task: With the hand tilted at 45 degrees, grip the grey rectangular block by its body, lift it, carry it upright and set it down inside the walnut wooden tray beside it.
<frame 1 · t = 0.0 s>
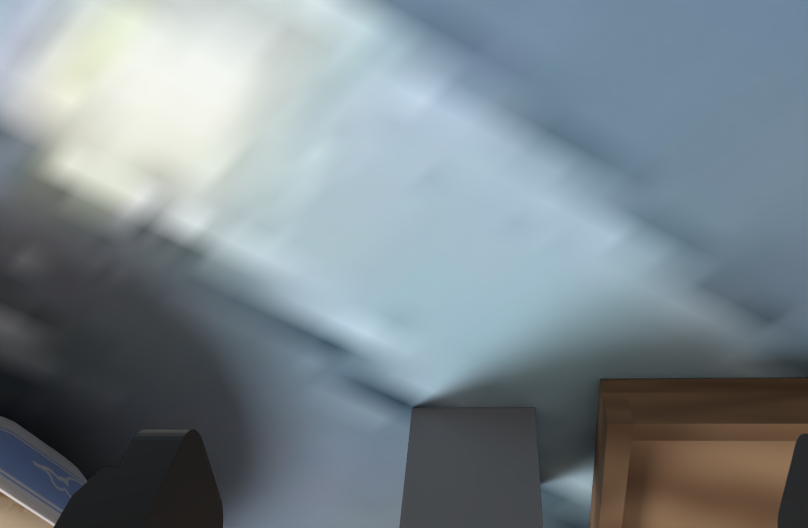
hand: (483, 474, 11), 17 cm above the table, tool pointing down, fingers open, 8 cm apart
grey rectangular block: (475, 448, 36), on the table
tray: (736, 479, 36), on the table
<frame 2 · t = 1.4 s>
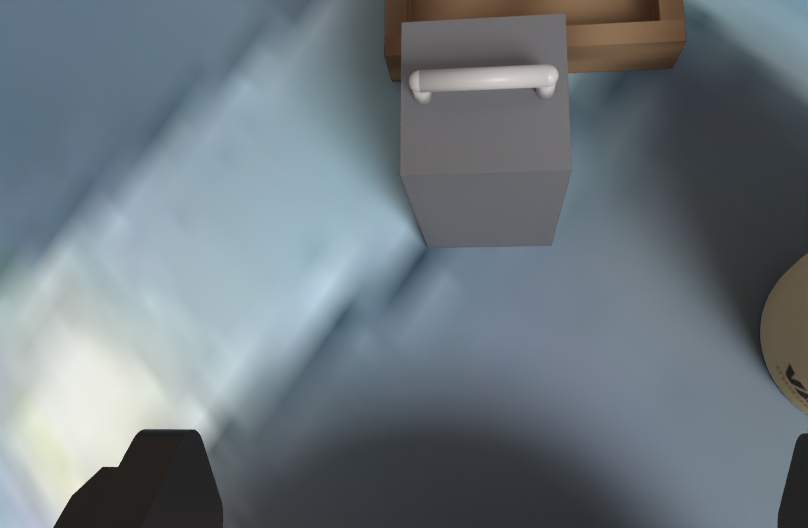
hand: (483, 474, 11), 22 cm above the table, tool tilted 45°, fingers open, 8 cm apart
grey rectangular block: (488, 188, 35), on the table
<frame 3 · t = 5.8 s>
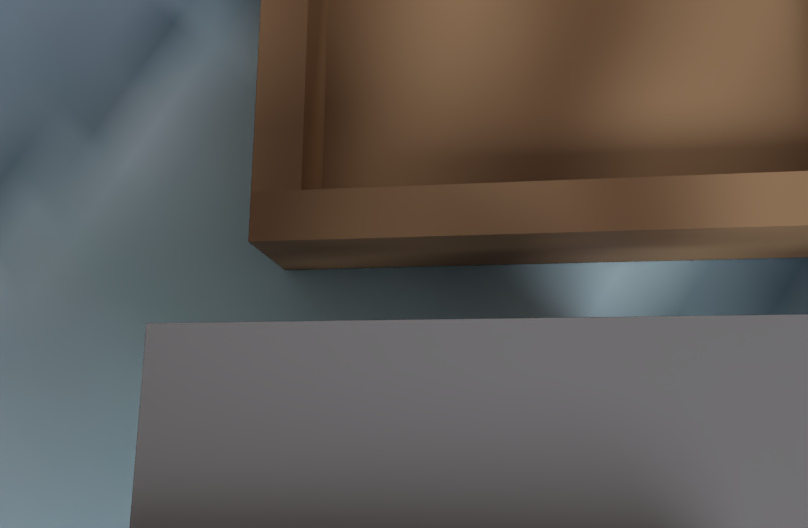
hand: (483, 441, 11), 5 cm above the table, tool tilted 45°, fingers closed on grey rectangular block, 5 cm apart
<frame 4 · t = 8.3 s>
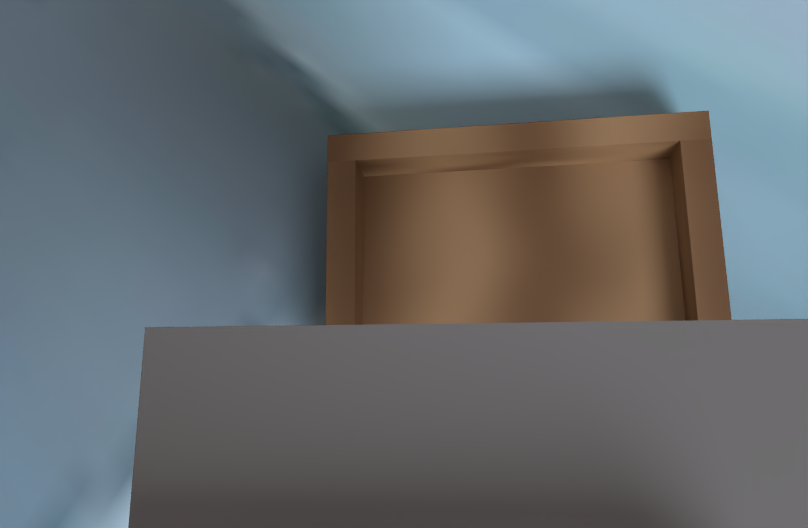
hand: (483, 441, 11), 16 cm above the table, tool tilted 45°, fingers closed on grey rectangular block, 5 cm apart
tray: (519, 321, 27), on the table
when the fingers open (7 cm above the table, at t = 11.0 s): grey rectangular block drops 2 cm, resting on tray.
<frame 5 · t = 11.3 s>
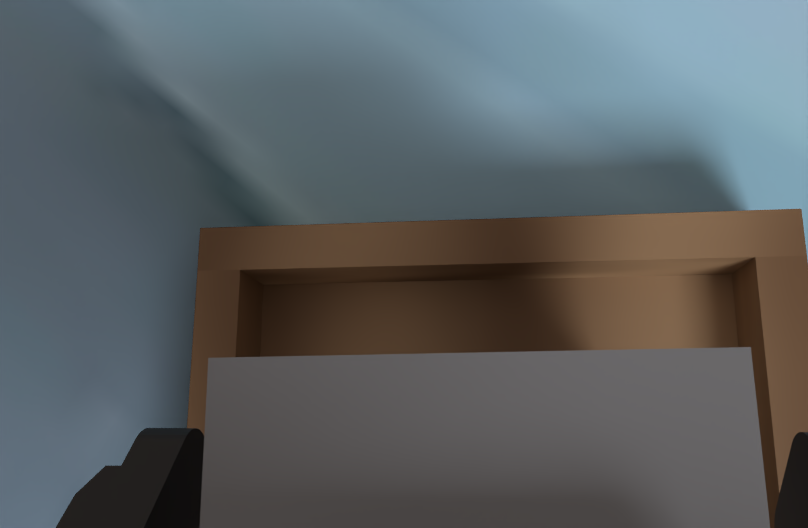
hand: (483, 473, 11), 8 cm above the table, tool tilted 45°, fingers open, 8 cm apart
grey rectangular block: (492, 527, 17), point 1 cm above the table, touching tray
tray: (494, 520, 18), on the table
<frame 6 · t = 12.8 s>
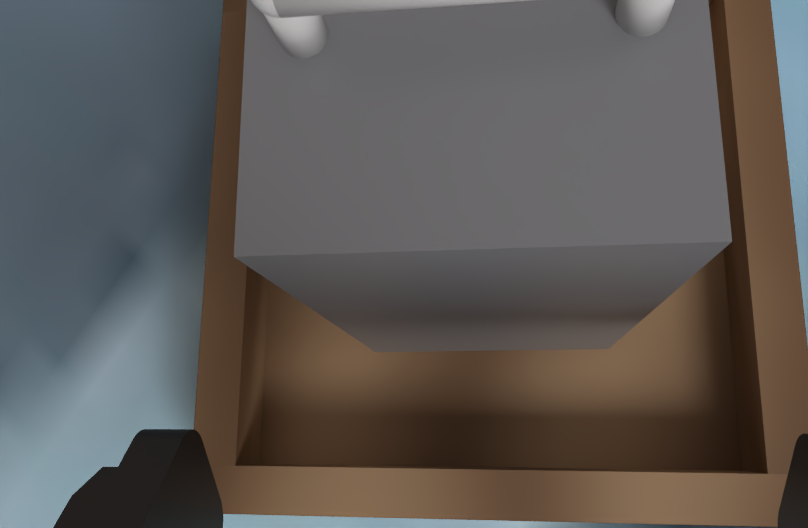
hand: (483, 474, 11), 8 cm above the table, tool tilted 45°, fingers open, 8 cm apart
grey rectangular block: (487, 238, 19), point 1 cm above the table, touching tray
tray: (488, 243, 20), on the table
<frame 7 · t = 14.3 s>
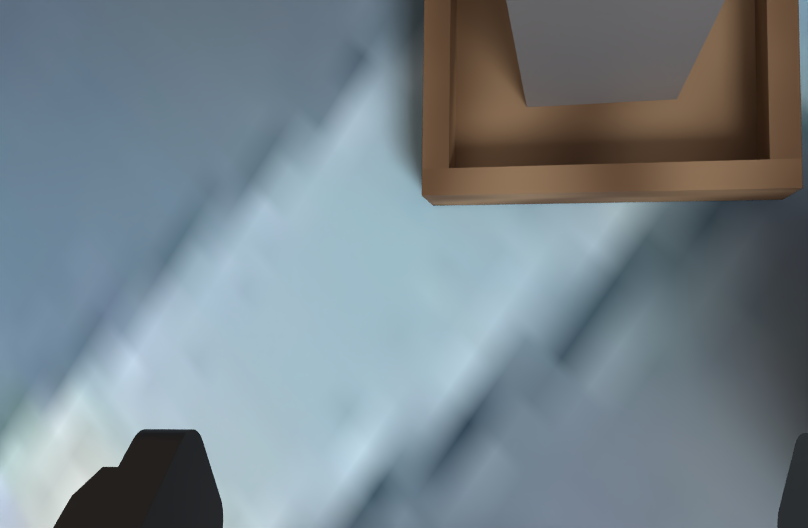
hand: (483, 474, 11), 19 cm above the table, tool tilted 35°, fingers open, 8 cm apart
grey rectangular block: (599, 32, 29), point 1 cm above the table, touching tray
tray: (599, 37, 30), on the table
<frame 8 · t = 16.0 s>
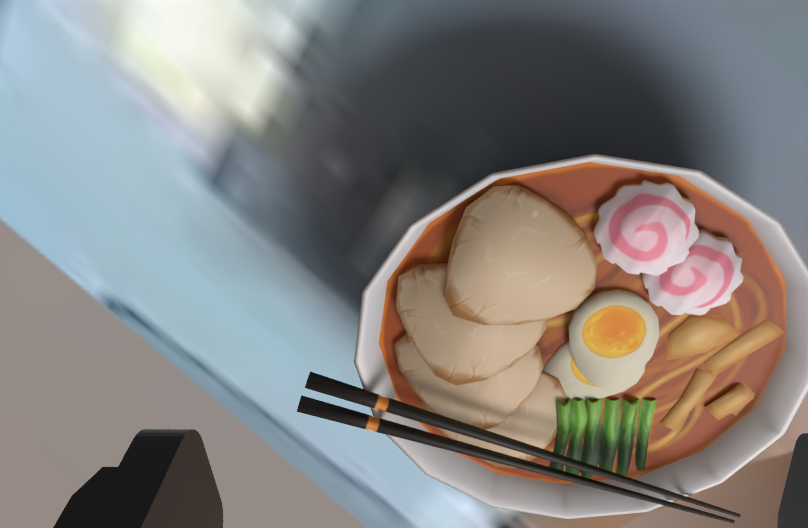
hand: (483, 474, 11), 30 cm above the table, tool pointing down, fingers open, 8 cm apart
ramen bowl: (566, 282, 44), on the table
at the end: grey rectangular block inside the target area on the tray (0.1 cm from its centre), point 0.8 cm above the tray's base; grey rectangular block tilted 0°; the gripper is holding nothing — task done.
